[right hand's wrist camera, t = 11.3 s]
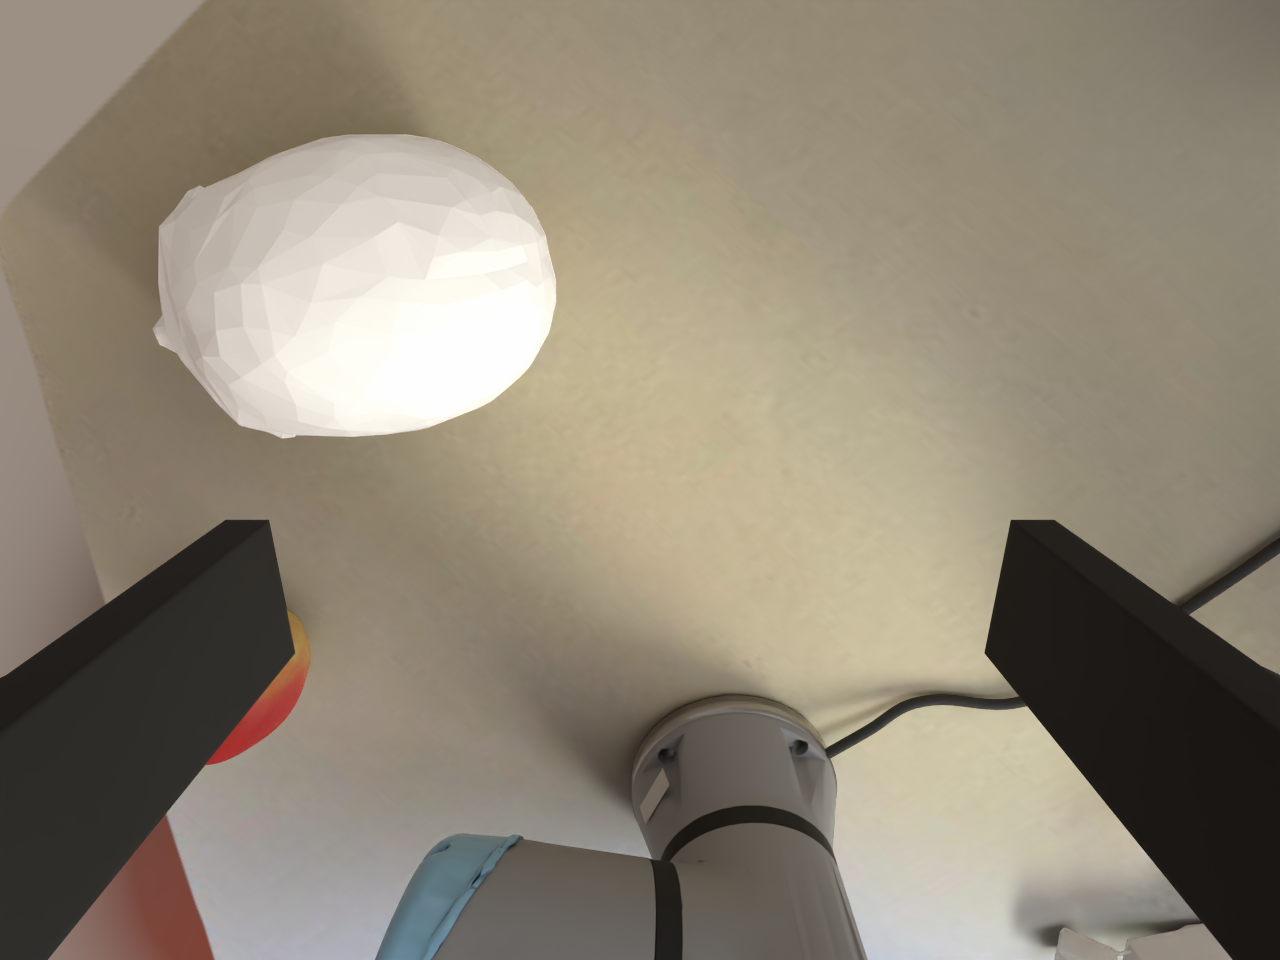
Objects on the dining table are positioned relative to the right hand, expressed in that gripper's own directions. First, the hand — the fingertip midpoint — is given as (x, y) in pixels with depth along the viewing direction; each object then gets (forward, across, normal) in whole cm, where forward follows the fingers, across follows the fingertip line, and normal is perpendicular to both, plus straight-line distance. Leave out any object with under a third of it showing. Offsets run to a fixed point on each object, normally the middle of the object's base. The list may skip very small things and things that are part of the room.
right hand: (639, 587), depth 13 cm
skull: (+31, -15, +3) cm, 35 cm away
